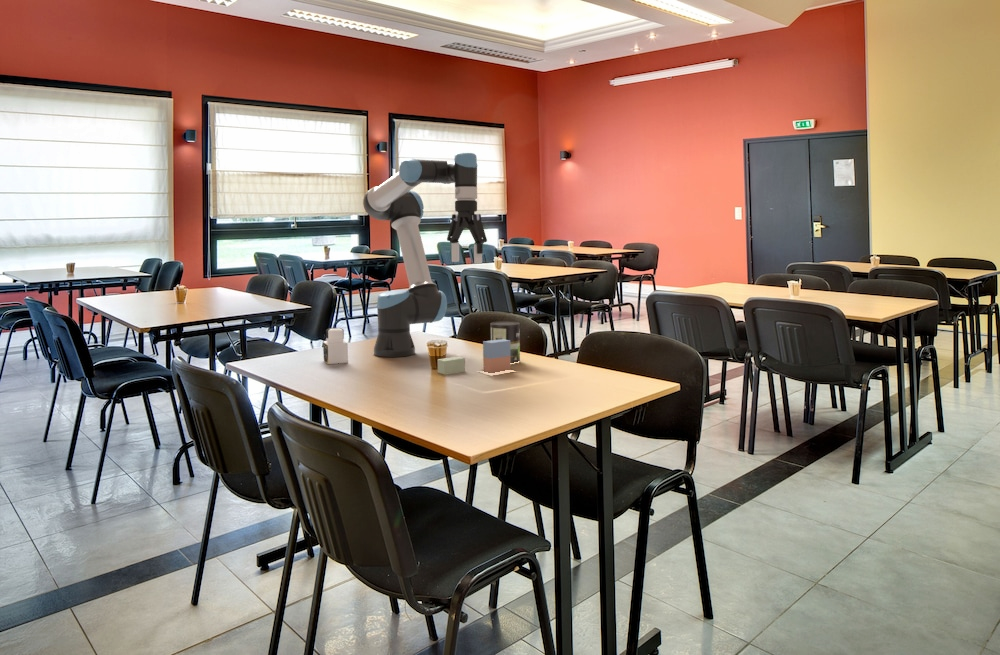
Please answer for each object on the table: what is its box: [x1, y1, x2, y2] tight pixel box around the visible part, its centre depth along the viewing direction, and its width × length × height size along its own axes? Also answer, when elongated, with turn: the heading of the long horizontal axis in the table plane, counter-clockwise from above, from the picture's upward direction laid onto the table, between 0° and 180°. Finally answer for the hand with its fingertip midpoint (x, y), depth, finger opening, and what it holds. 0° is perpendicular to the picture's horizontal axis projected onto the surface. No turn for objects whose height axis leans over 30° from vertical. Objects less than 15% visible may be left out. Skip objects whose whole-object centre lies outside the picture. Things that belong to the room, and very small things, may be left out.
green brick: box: [437, 356, 466, 375], centre depth 237 cm, size 8×4×5 cm, turn 127°
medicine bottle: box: [322, 327, 349, 365], centre depth 257 cm, size 7×7×12 cm
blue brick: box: [482, 339, 510, 359], centre depth 237 cm, size 8×4×5 cm, turn 126°
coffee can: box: [489, 320, 521, 363], centre depth 253 cm, size 10×10×14 cm
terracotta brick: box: [482, 356, 511, 373], centre depth 238 cm, size 8×4×5 cm, turn 127°
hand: (466, 262), depth 252 cm, fingers open, 13 cm apart
